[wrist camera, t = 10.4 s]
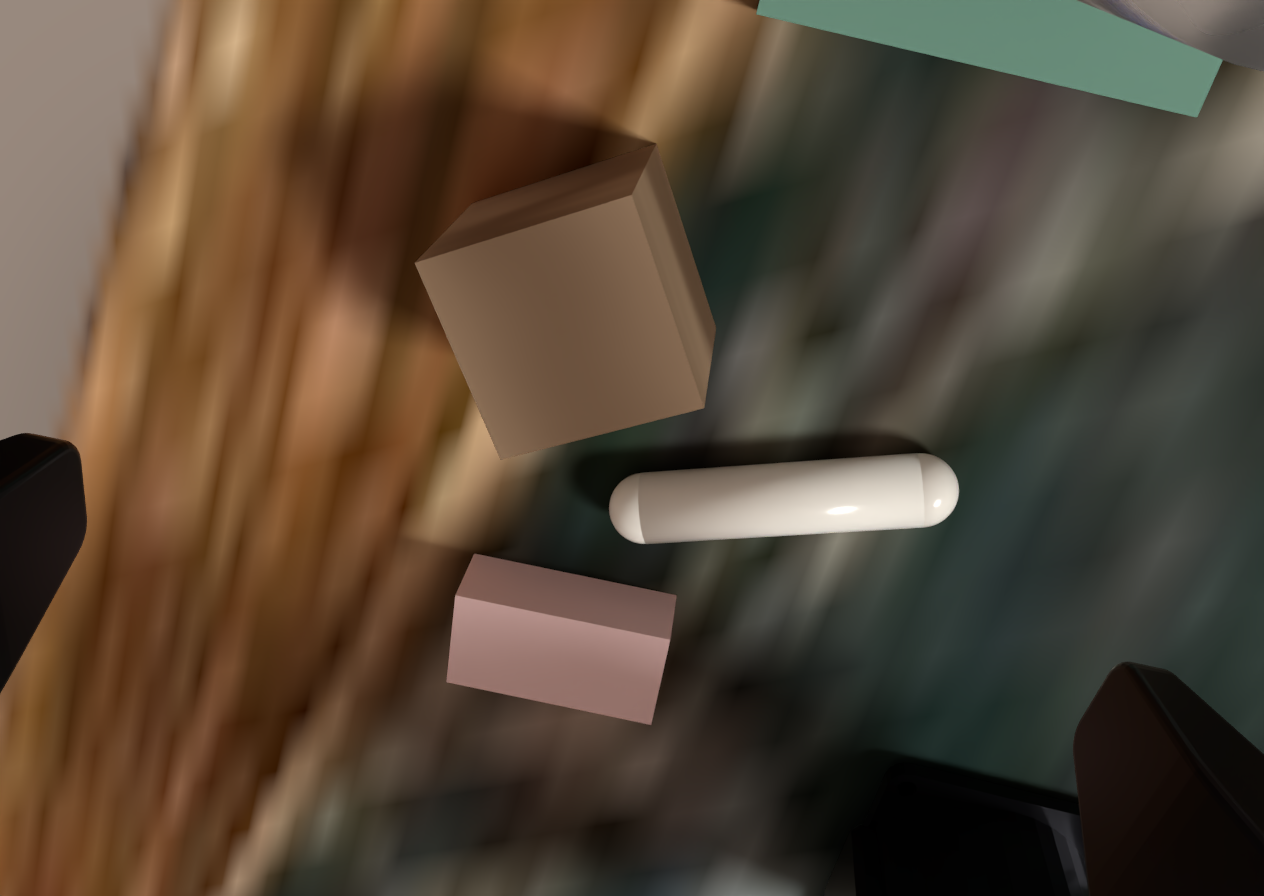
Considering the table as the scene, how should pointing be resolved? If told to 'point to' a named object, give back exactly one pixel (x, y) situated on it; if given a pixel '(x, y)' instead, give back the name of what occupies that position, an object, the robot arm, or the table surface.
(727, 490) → the chalk
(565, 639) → the eraser
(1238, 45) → the bottle
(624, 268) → the walnut block
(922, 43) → the mat
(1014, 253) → the table surface
